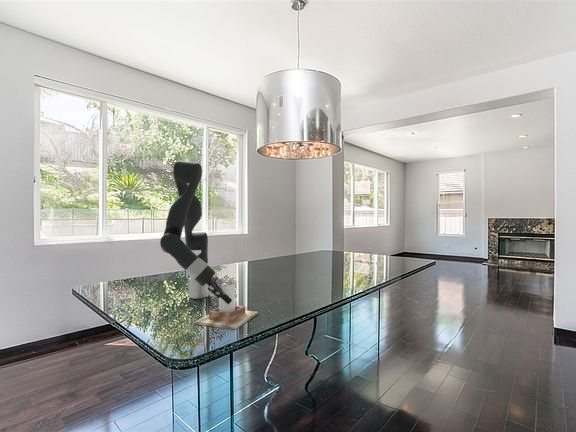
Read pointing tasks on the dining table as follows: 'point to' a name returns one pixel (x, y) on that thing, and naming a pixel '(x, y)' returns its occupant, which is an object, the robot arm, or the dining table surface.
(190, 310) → the dining table surface
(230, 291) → the can
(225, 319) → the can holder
